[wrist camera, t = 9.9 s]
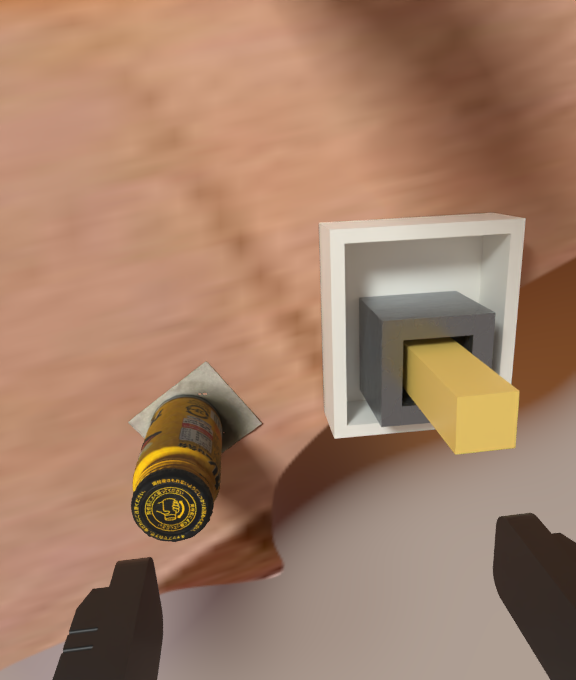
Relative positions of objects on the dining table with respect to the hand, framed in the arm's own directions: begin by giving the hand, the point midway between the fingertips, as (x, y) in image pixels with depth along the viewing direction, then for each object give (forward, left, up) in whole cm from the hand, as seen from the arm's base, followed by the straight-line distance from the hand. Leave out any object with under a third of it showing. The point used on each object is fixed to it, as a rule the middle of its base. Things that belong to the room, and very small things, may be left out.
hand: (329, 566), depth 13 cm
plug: (+6, +12, -29) cm, 31 cm away
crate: (+4, +12, -32) cm, 34 cm away
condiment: (+12, -6, -32) cm, 35 cm away
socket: (+6, +12, -32) cm, 34 cm away
